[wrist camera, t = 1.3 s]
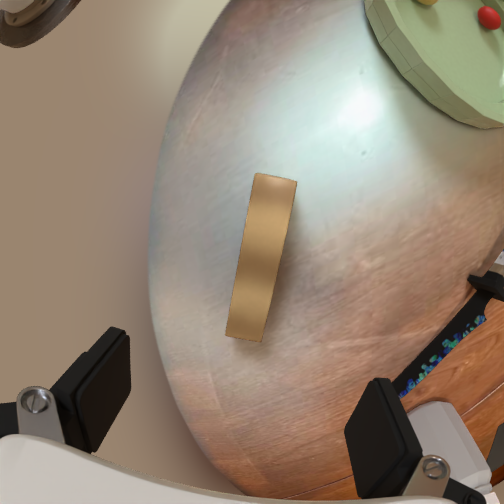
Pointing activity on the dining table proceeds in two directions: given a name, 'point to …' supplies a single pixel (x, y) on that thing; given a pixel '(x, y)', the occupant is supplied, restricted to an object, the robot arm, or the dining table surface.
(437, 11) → the shallow round dish
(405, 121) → the dining table surface
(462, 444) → the jar
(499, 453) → the model building
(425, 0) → the chickpea
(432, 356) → the knife
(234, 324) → the stick
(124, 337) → the robot arm
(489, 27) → the tomato
